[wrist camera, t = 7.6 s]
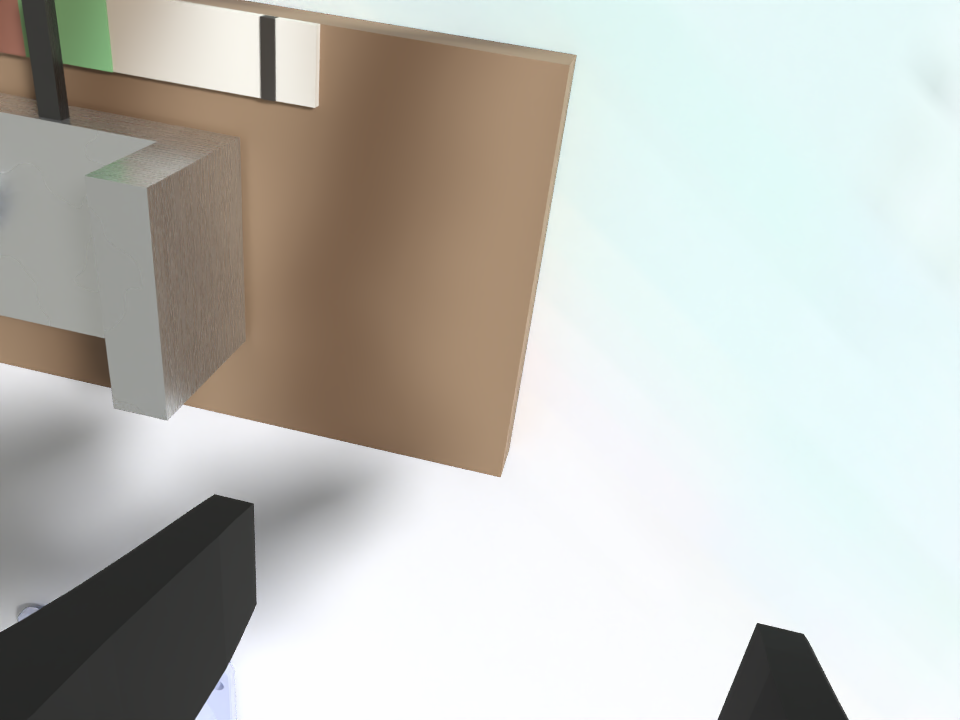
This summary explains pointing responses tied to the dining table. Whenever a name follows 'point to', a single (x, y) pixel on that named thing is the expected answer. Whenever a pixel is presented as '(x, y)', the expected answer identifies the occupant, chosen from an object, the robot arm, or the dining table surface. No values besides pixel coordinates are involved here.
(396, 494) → the dining table surface
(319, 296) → the gauge frame
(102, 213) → the brushed steel block
